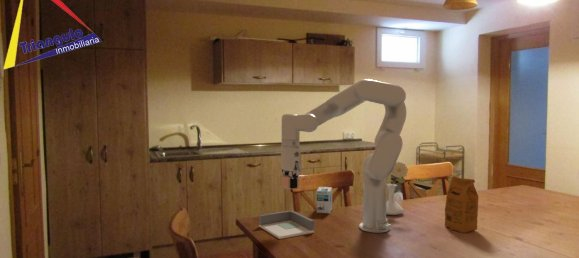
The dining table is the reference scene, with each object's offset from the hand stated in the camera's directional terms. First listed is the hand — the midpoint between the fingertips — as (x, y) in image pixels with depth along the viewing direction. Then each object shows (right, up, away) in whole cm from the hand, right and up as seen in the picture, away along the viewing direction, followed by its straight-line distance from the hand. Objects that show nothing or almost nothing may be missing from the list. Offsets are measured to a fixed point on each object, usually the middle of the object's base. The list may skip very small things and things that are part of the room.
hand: (290, 186), depth 169 cm
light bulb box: (+17, -16, +29) cm, 37 cm away
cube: (0, -1, 0) cm, 1 cm away
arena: (-2, -18, -1) cm, 18 cm away
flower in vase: (+49, -16, +23) cm, 56 cm away
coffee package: (+71, -18, 0) cm, 73 cm away
